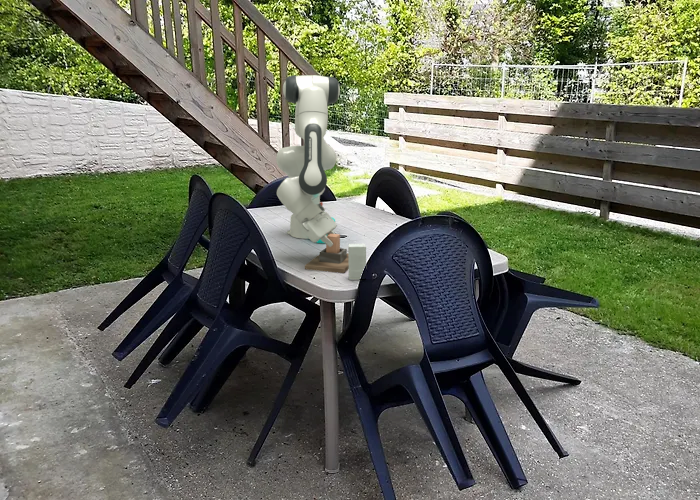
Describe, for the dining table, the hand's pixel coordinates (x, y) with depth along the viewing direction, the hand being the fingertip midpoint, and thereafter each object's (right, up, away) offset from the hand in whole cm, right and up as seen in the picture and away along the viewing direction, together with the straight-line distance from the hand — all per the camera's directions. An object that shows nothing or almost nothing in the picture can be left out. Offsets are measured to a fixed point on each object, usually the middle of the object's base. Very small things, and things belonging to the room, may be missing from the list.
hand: (334, 243), depth 236 cm
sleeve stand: (-1, -7, +2) cm, 8 cm away
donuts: (-6, +1, +34) cm, 35 cm away
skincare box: (+8, -12, -14) cm, 21 cm away
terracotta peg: (-1, -5, +1) cm, 5 cm away
